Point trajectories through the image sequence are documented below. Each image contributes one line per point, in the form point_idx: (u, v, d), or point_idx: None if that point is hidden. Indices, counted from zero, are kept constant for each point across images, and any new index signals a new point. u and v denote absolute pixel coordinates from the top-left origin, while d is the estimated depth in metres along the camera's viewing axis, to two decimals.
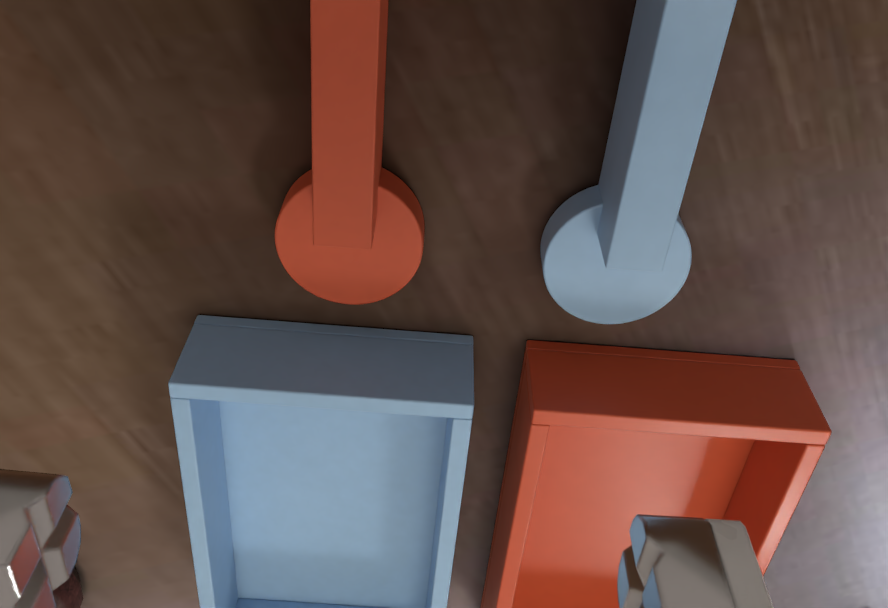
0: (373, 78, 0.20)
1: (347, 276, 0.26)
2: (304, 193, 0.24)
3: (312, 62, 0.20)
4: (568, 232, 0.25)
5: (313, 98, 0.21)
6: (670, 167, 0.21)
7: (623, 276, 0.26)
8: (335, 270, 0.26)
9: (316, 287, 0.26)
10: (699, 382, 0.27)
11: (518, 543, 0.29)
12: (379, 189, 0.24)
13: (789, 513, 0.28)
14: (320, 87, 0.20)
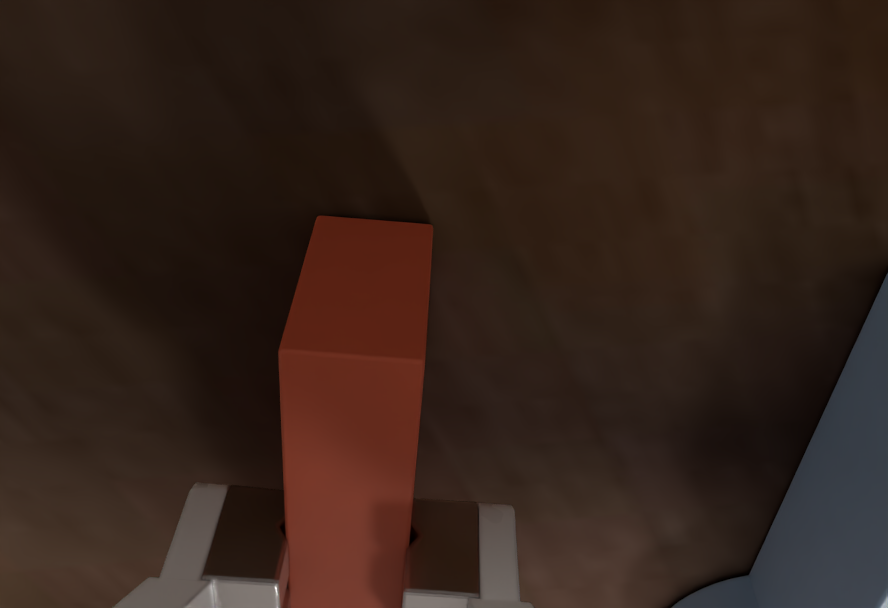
0: (400, 548, 0.11)
1: None
2: None
3: (288, 528, 0.11)
4: None
5: (291, 573, 0.11)
6: None
7: None
8: None
9: None
10: None
11: None
12: None
13: None
14: (303, 557, 0.11)
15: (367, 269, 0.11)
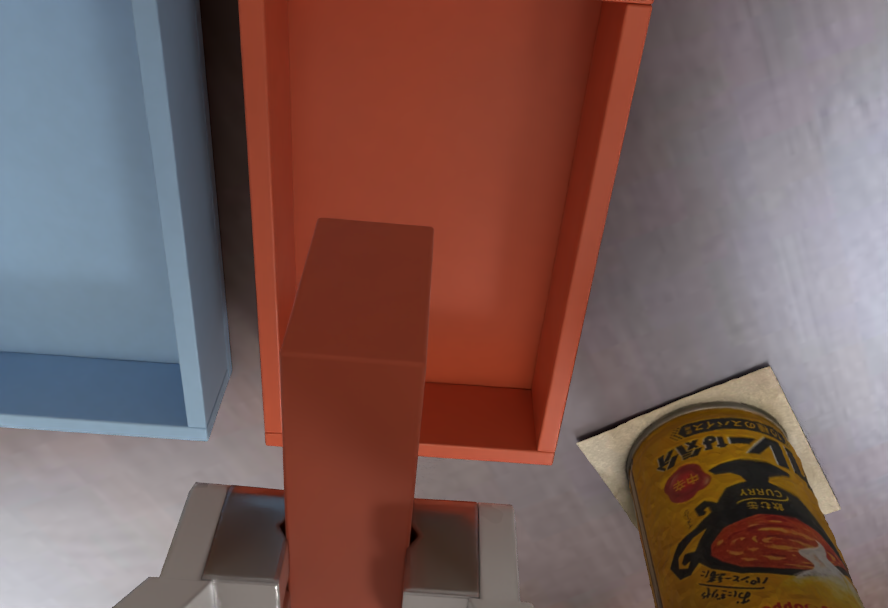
0: (400, 551, 0.11)
1: None
2: None
3: (288, 530, 0.11)
4: None
5: (290, 575, 0.11)
6: None
7: None
8: None
9: None
10: None
11: (263, 196, 0.22)
12: None
13: (618, 135, 0.21)
14: (303, 559, 0.11)
15: (369, 271, 0.11)
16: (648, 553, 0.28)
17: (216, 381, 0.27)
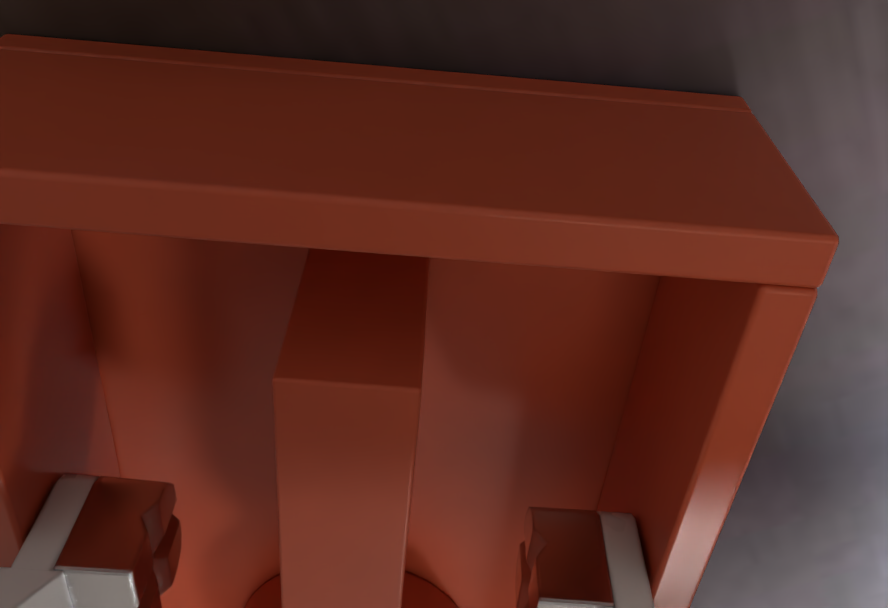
0: (395, 575, 0.11)
1: None
2: None
3: (282, 554, 0.11)
4: None
5: (284, 599, 0.11)
6: None
7: None
8: None
9: None
10: (449, 122, 0.09)
11: None
12: None
13: (719, 506, 0.10)
14: (297, 583, 0.11)
15: (364, 292, 0.10)
16: None
17: None
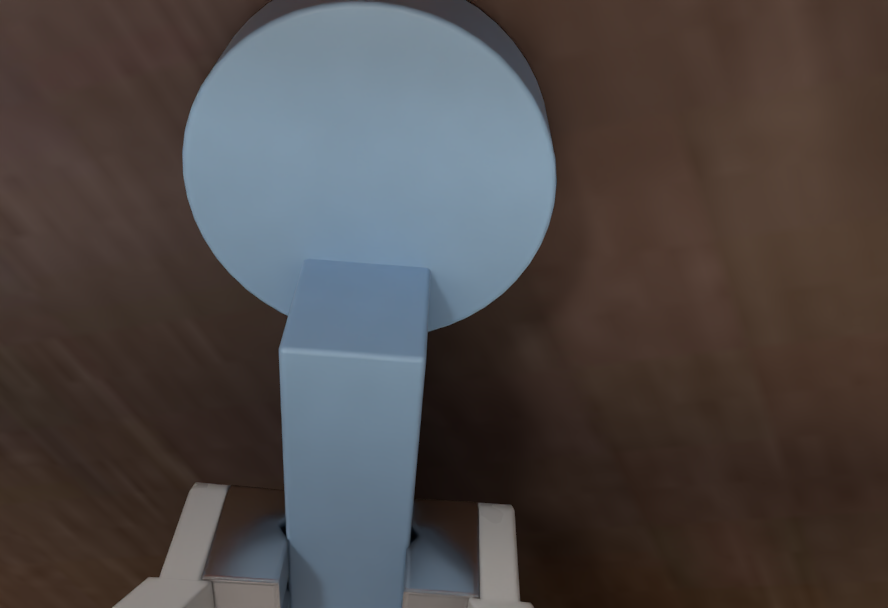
0: None
1: None
2: None
3: None
4: (497, 274, 0.11)
5: None
6: (327, 543, 0.11)
7: (346, 164, 0.10)
8: None
9: None
10: None
11: None
12: None
13: None
14: None
15: None
16: None
17: None
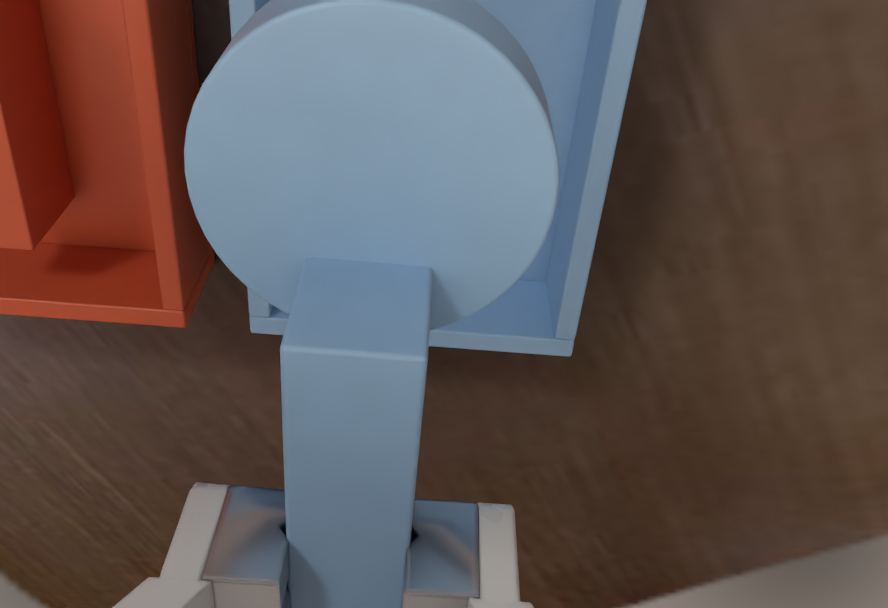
0: None
1: None
2: None
3: (9, 151, 0.21)
4: (499, 273, 0.11)
5: (0, 118, 0.20)
6: (327, 542, 0.11)
7: (349, 162, 0.10)
8: None
9: None
10: None
11: (147, 124, 0.21)
12: None
13: None
14: None
15: None
16: None
17: None
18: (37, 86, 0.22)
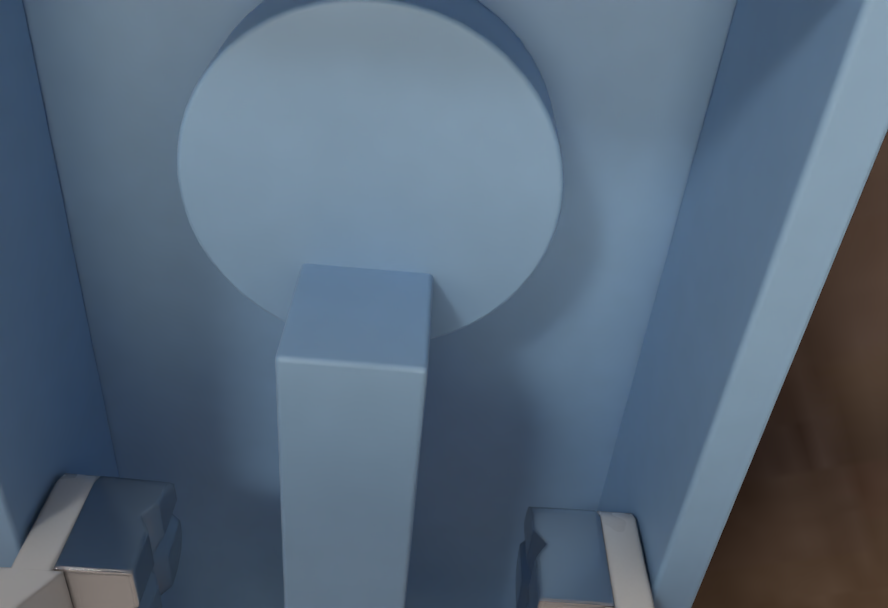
0: None
1: None
2: None
3: None
4: (501, 281, 0.10)
5: None
6: (324, 557, 0.11)
7: (347, 165, 0.09)
8: None
9: None
10: None
11: None
12: None
13: None
14: None
15: None
16: None
17: None
18: None
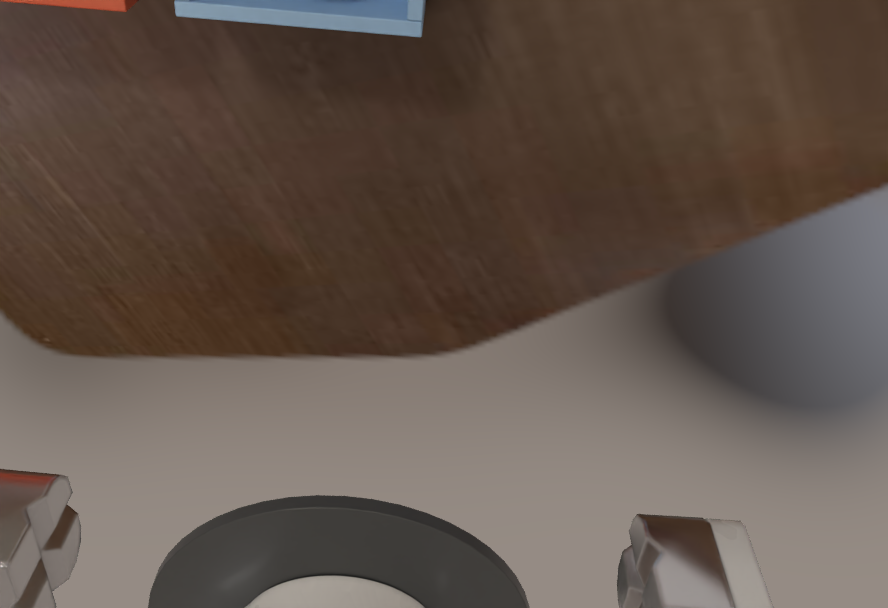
0: None
1: None
2: None
3: None
4: None
5: None
6: None
7: None
8: None
9: None
10: None
11: None
12: None
13: None
14: None
15: None
16: None
17: None
18: None
